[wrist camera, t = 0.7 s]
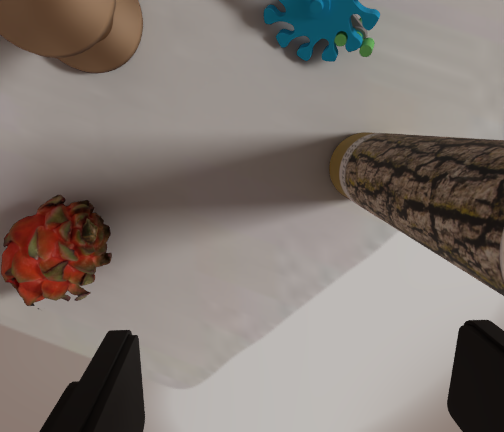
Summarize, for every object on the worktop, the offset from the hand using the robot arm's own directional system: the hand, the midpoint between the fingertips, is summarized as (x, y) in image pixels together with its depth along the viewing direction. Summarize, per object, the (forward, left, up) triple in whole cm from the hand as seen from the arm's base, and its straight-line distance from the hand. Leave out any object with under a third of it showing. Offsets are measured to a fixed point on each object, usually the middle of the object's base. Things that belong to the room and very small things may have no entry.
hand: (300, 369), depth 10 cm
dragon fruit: (+17, -7, -28) cm, 34 cm away
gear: (-15, -9, -28) cm, 33 cm away
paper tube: (-11, +5, -28) cm, 30 cm away
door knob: (+1, -21, -28) cm, 35 cm away
